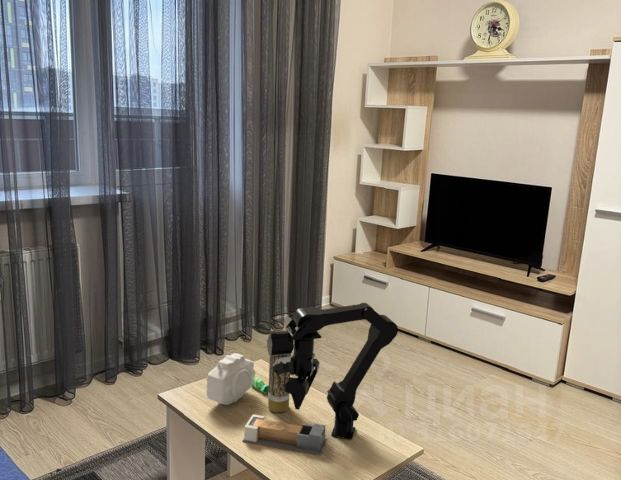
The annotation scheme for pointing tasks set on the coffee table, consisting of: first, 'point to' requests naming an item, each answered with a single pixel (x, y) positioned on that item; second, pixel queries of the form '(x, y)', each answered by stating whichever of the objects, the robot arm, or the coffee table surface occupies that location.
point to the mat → (284, 445)
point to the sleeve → (311, 437)
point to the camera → (230, 379)
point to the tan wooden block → (277, 431)
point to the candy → (260, 385)
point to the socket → (252, 429)
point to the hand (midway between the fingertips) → (301, 401)
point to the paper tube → (277, 387)
